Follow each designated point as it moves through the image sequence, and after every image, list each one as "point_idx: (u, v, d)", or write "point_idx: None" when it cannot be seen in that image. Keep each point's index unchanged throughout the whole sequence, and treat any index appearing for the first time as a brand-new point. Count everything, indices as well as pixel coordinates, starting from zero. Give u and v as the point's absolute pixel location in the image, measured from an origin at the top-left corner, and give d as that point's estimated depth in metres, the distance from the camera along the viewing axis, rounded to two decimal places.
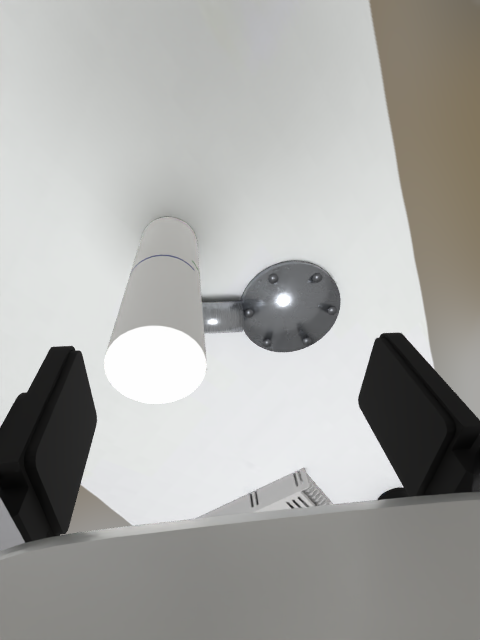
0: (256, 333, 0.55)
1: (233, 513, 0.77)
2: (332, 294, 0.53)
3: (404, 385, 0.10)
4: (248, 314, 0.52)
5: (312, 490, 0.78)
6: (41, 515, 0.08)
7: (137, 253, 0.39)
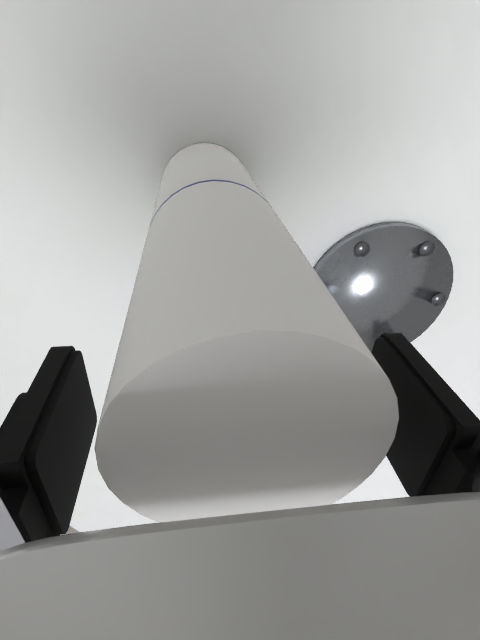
0: None
1: None
2: (443, 275, 0.35)
3: (404, 385, 0.10)
4: None
5: None
6: (41, 515, 0.08)
7: (161, 190, 0.21)
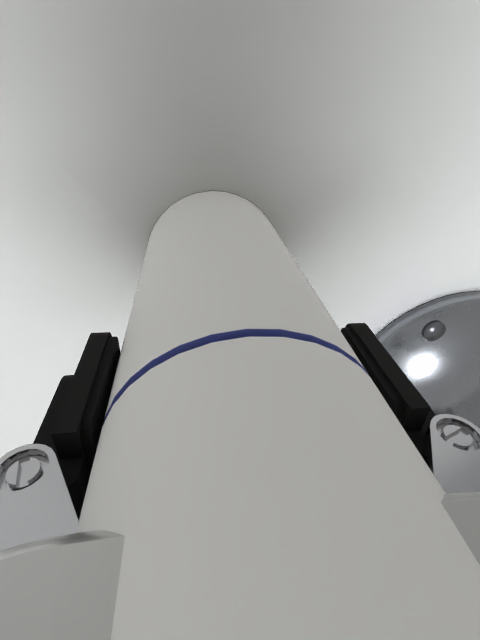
0: None
1: None
2: None
3: None
4: None
5: None
6: None
7: (139, 298, 0.12)
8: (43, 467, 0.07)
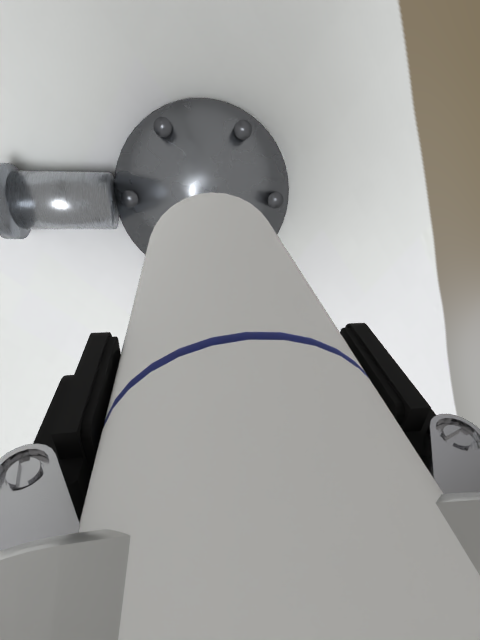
0: None
1: None
2: (274, 168, 0.31)
3: None
4: (128, 200, 0.30)
5: None
6: None
7: (139, 300, 0.12)
8: (43, 467, 0.07)
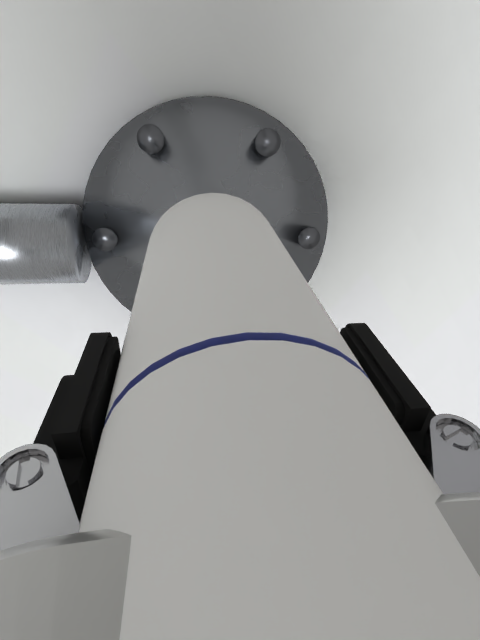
0: None
1: None
2: (309, 195, 0.22)
3: None
4: (104, 241, 0.22)
5: None
6: None
7: (139, 300, 0.12)
8: (43, 467, 0.07)
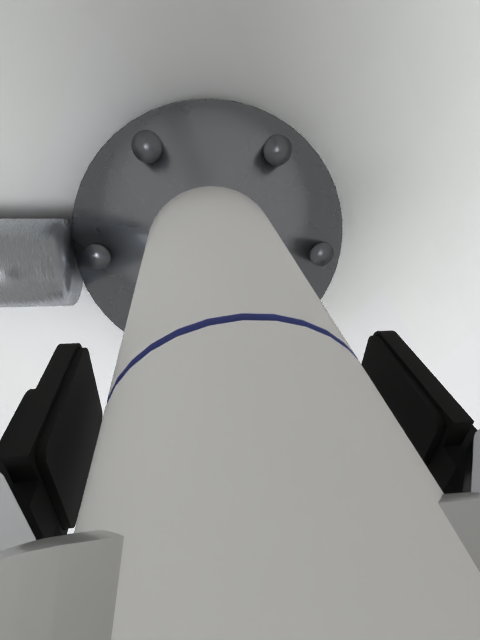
0: None
1: None
2: (322, 208, 0.20)
3: (396, 382, 0.10)
4: (95, 259, 0.19)
5: None
6: (50, 508, 0.08)
7: (139, 288, 0.12)
8: None
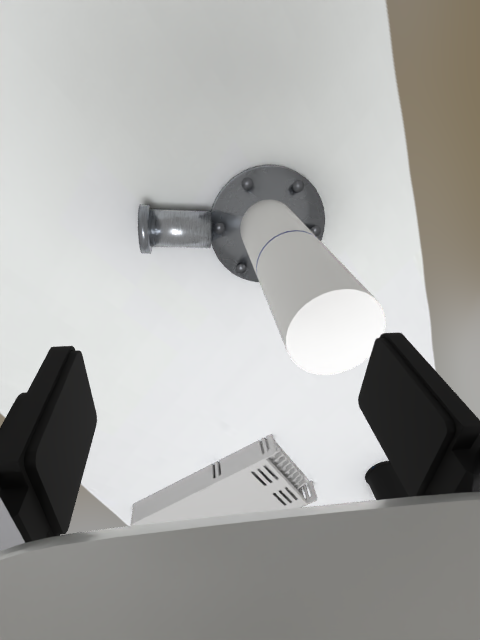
0: (228, 255, 0.48)
1: (193, 485, 0.69)
2: (316, 210, 0.46)
3: (404, 385, 0.10)
4: (218, 229, 0.45)
5: (281, 460, 0.70)
6: (41, 514, 0.08)
7: (256, 231, 0.38)
8: None
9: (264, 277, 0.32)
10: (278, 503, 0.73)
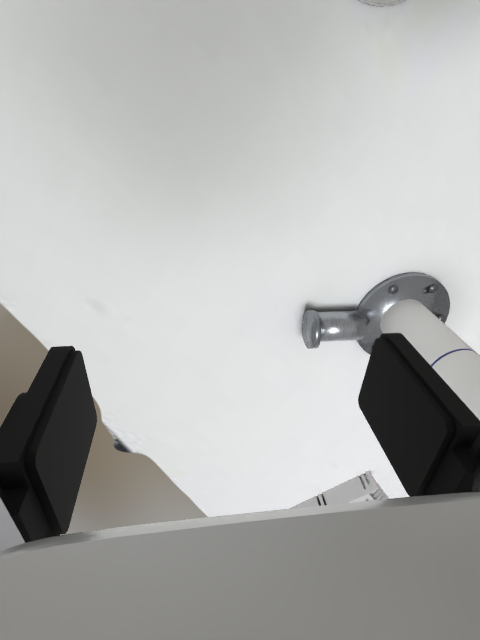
0: (367, 340, 0.57)
1: None
2: (443, 304, 0.56)
3: (404, 385, 0.10)
4: None
5: (376, 492, 0.81)
6: (40, 515, 0.08)
7: (416, 339, 0.48)
8: None
9: None
10: None
